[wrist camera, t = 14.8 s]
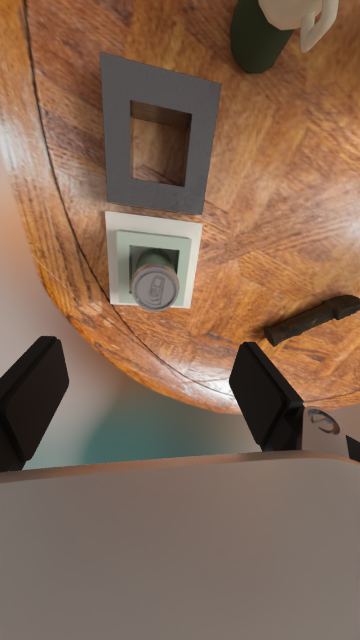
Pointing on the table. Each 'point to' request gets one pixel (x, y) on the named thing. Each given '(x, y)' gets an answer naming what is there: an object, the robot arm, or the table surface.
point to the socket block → (165, 108)
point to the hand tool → (313, 318)
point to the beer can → (154, 281)
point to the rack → (141, 235)
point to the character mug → (276, 28)
